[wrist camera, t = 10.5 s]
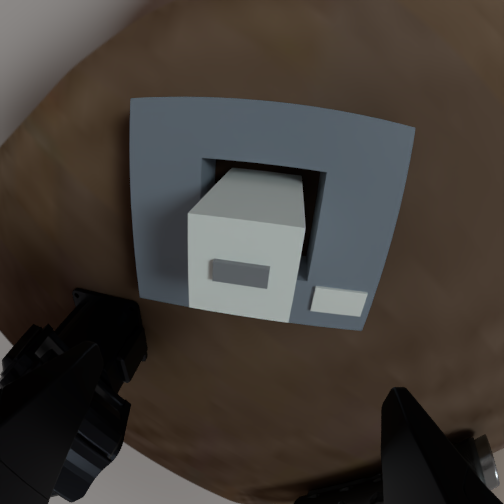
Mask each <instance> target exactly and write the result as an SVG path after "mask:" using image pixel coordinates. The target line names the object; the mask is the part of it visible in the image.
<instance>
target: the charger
mask: <svg viewBox="0 0 504 504" xmlns="http://www.w3.org/2000/svg"><path fill="white" fill-rule="evenodd" d="M305 229H306V226H305V212H304V198H303V186H302V176H300V175H293V174H285V173H277V172H269V171H261V170H252V169H242V168H231V169H230V170H229V171H228V172H227V173H226V174H225V175H224V176H223V177H222V178H221V179H220V180H219V181H218V182H217V183H216V184H215V185H214V186H213V187H212V188H211V190H210V191H209V192H208V193H207V194H206V195H205V196H204V197H203V198H202V199H201V200H200V201H199V202H198V203H197V204H196V205H195V206H194V207H193V208H192V209H191V210H190V211H189V213H188V285H189V307H191V308H196V309H202V310H208V311H214V312H220V313H226V314H232V315H239V316H245V317H252V318H259V319H266V320H273V321H280V322H289V317H290V312H291V307H292V302H293V296H294V291H295V286H296V280H297V275H298V269H299V264H300V258H301V252H302V247H303V241H304V235H305Z"/></svg>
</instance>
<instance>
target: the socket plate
mask: <svg viewBox="0 0 504 504" xmlns="http://www.w3.org/2000/svg"><path fill="white" fill-rule="evenodd" d="M414 134H415V128H414V127H410V126H406V125H402V124H398V123H394V122H390V121H386V120H382V119H377V118H373V117H368V116H363V115H359V114H353V113H348V112H343V111H337V110H331V109H325V108H319V107H312V106H305V105H298V104H290V103H281V102H272V101H261V100H249V99H234V98H213V97H150V98H131V102H130V190H131V210H132V225H133V238H134V250H135V260H136V270H137V278H138V287H139V294H140V298H145V299H150V300H155V301H160V302H165V303H170V304H176V305H181V306H186V307H189V285H188V213H189V211H190V210H191V209H192V208H193V207H194V206H195V205H196V204H197V203H198V202H199V201H200V200H201V199H202V198H203V197H204V196H205V195H206V194H207V193H208V192H209V191H210V190H211V188H212V187H213V186H214V185H215V167H216V159H222V160H233V161H244V162H253V163H262V164H271V165H279V166H287V167H294V168H302V169H309V170H315V171H320V177H319V184H318V190H317V197H316V203H315V209H314V215H313V221H312V227H311V233H310V238H309V244H308V250H307V255H306V256H301V258H300V264H299V269H298V275H297V280H296V286H295V291H294V296H293V302H292V307H291V312H290V317H289V323H296V324H304V325H313V326H321V327H330V328H339V329H349V330H359V331H362V329H363V326H364V324H365V321H366V318H367V315H368V313H369V310H370V307H371V304H372V301H373V298H374V295H375V292H376V289H377V286H378V283H379V280H380V277H381V274H382V270H383V267H384V264H385V261H386V257H387V254H388V250H389V247H390V243H391V240H392V236H393V232H394V229H395V225H396V221H397V217H398V213H399V209H400V205H401V200H402V196H403V192H404V187H405V182H406V178H407V173H408V168H409V163H410V157H411V152H412V146H413V141H414Z"/></svg>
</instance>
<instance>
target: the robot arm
mask: <svg viewBox="0 0 504 504" xmlns="http://www.w3.org/2000/svg"><path fill="white" fill-rule="evenodd" d="M72 294H73V298H74V302H75V306H76V308H75V309H74V310H73V311H72V312H71V313H70V314H69V315H68V316H67V318H66V319H65V320H64V321H63V322H62V323H61V324H60V326H59V327H58V328H57V329H56V330H55V331H53V328H52V327H51V326H50V325H49V324H47V325H46V326H45V327H44V328H43V329H42V328H41V327H39V326H36V325H34V324H33V325H32V326H31V327H30V328H29V329H28V330H27V332H26V333H25V334H24V335H23V336H22V337H21V338H20V339H19V340H18V342H17V343H16V344H15V345H14V346H13V347H12V349H11V350H10V351H9V352H8V353H7V355H6V356H5V357H4V358H3V360H2V366H3V371H2V373H1V376H2V377H1V378H0V504H48V502H49V499H50V497H54V496H58V495H59V496H61V497H62V498H64V499H65V500H67V501H69V502H74V501H76V500H78V499H80V498H82V497H83V496H84V495H85V494H86V492H87V490H88V489H89V487H90V485H91V484H92V482H93V481H94V479H95V478H96V477H97V476H98V474H99V473H100V472H101V471H102V470H103V469H104V468H105V467H106V466H108V465H109V464H110V463H111V462H112V461H113V460H114V459H115V457H116V456H117V455H118V453H119V451H120V449H121V447H122V444H123V440H124V435H125V430H126V426H127V421H128V416H129V412H130V407H131V404H130V403H129V402H128V401H127V400H124V399H123V398H122V397H120V396H119V395H118V392H119V390H120V388H121V386H122V384H123V383H124V382H126V383H128V382H130V381H131V379H132V377H133V375H134V373H135V372H136V370H137V368H138V366H139V364H140V362H141V361H145V360H146V359H147V343H146V337H145V332H144V328H143V326H142V322H141V316H140V309H139V305H138V304H137V303H136V302H134V301H131V300H126V299H122V298H117V297H113V296H109V295H104V294H100V293H96V292H92V291H88V290H84V289H80V288H76V289H75V290H74V291H73V292H72ZM131 306H132V307H133V308H132V307H131ZM381 462H382V476H383V494H384V504H503V503H502V502H501V501H500V500H499V499H498V498H497V497H496V496H495V495H494V494H493V493H492V492H491V491H490V489H489V488H488V487H487V486H486V485H485V484H484V483H483V482H482V481H481V479H480V478H479V477H478V476H477V474H476V473H475V472H474V471H473V469H472V468H471V467H470V466H468V463H467V462H466V461H465V459H464V458H463V457H462V456H461V454H460V453H459V452H458V451H457V449H456V448H455V447H454V446H453V444H452V443H451V442H450V441H449V439H448V438H447V437H446V436H445V434H444V433H443V432H442V431H441V430H440V428H439V427H438V426H437V425H436V423H435V422H434V421H433V420H432V418H431V417H430V416H429V415H428V414H427V412H426V411H425V410H424V409H423V408H422V406H421V405H420V404H419V403H418V402H417V400H416V399H415V398H414V397H413V396H412V394H411V393H410V392H409V391H408V390H407V389H406V388H405V387H393V388H392V389H391V390H390V392H389V394H388V396H387V397H386V399H385V401H384V402H383V405H382V410H381Z"/></svg>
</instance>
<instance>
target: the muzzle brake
mask: <svg viewBox="0 0 504 504" xmlns="http://www.w3.org/2000/svg"><path fill="white" fill-rule="evenodd" d="M453 446H454V447H455V448H456V449H457V451H458V452H459V453H460V454H461V456H462V457H463V458H464V459H465V461H466V462H467V463H468V466H470V467H471V468H472V469H473V471H474V472H475V473H476V474H477V476H478V477H479V478H480V479H481V481H482V482H483V483H484V484H485V485H486V486H487V487H488V488H489V489H490V490H492V489H494V488H496V487H498V486H499V484H500V483H499V477H498V473H497V469H496V465H495V461H494V457H493V454H492V451H491V447H490V444H489V441H488V439H487V436H486V435H485V434H484V435H482V436H480V437H479V438H477V439H475V440H474V438H467V439H465V440H464V441H462V442H460V443H458V444H456V445H453ZM294 504H384V494H383V476H382V474H381V473H378V474H377V475H376V476H373V477H370V478H366V479H364V478H361V479H358V480H354V481H351V482H347V483H343V484H339V485H335V486H331V487H327V488H322V489H317V490H313V491H309V493H308V494H307V495H305V496H301V497H299V498H298V499H297V500H296V501H295V502H294Z"/></svg>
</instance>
